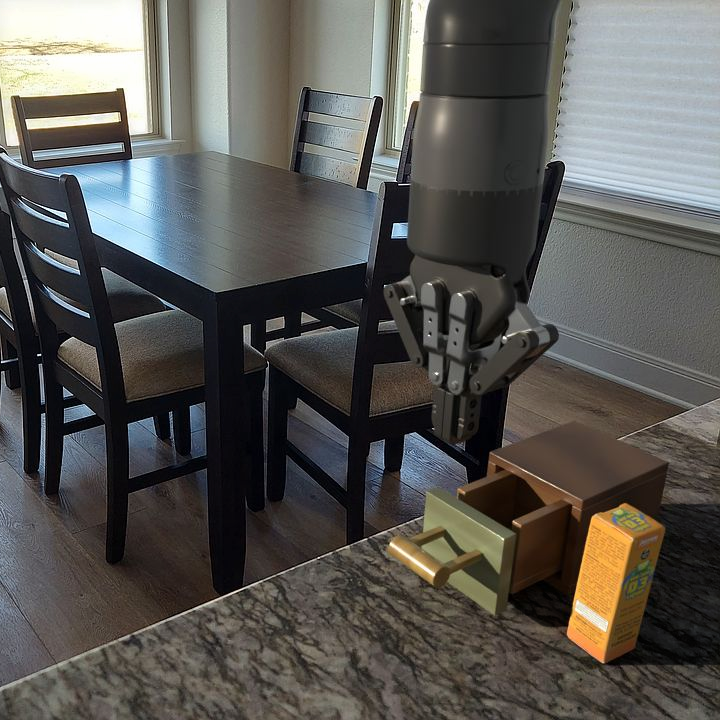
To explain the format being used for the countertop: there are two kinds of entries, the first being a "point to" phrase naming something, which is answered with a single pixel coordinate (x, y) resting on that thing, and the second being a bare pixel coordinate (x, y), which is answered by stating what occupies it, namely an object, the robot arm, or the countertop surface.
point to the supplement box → (614, 581)
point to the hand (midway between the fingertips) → (453, 437)
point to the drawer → (488, 538)
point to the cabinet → (584, 481)
